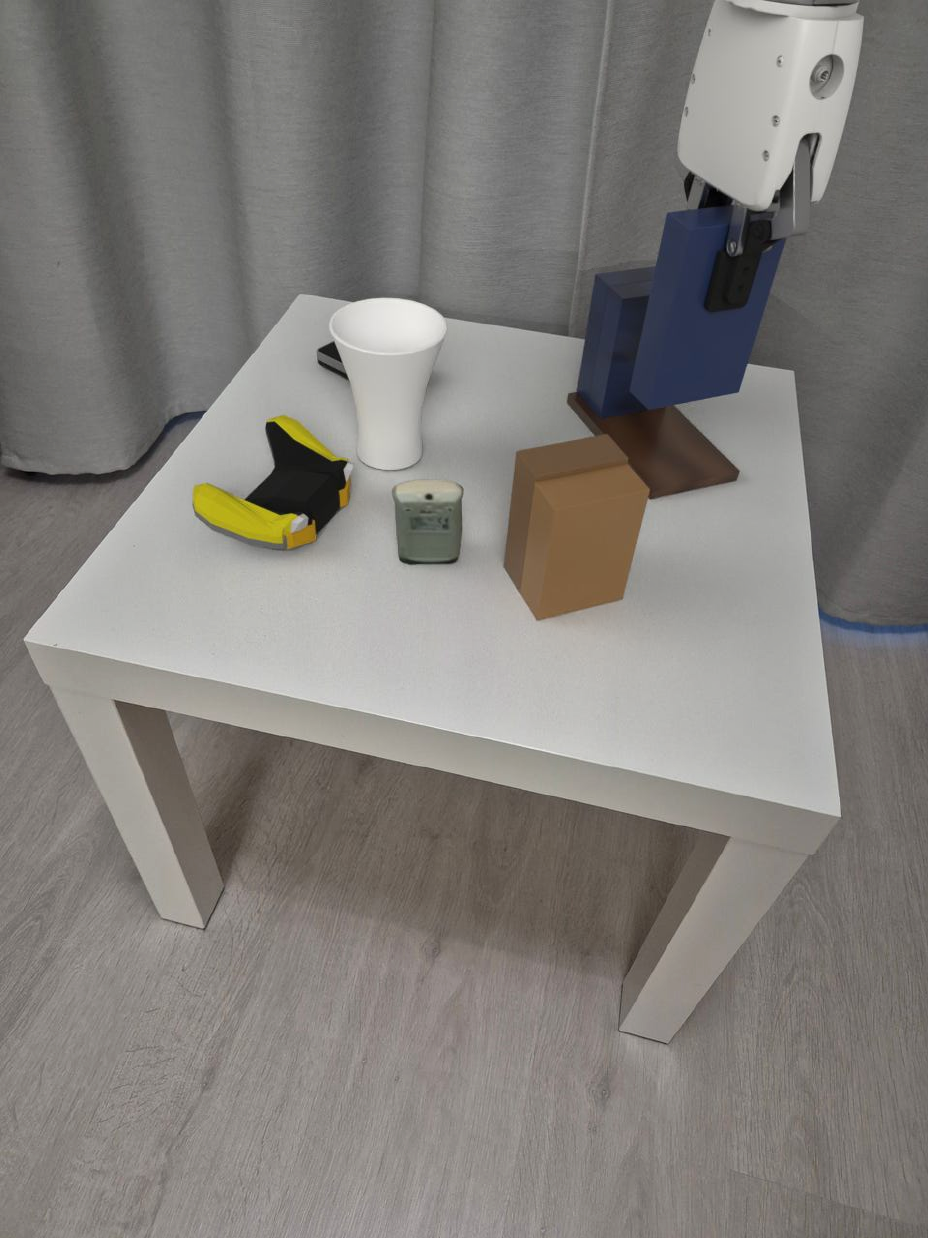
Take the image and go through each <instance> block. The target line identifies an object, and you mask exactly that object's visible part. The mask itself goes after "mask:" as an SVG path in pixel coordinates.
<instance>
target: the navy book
mask: <svg viewBox="0 0 928 1238" xmlns="http://www.w3.org/2000/svg"><path fill="white" fill-rule="evenodd" d="M733 209H734V204H732V205H728V206H719V207H710V208H702V209H693V210H677V211H669V212H666V217H665V221H664V225H663V229H662V235H661V240H660V245H659V248H658V254H657V258H656V262H655V266H656V268H655V272H654V277H653V282H652V287H651V291H650V296H649V301H648V306H647V310H646V315H645V320H644V325H643V330H642V334H641V339H640V344H639V349H638V353H637V358H636V363H635V368H634V372H633V377H632V382H631V387H630V392H631V393H632V394H633V395H634V396H635V397H636V398H637V399H638V400H639V401H640V402H641V403H642V404H643V405H644V406H645V407H646V408H647V409H648V410H652V409H657V408H662V407H667V406H672V405H674V406H677V405H682V404H688V403H693V402H697V401H703V400H707V399H712V398H713V399H714V398H716V397H722V396H727V395H728V396H729V395H733V394H738V393H740V390H741V386H742V385H743V384H742V383H743V380H744V378H745V374H746V371H747V367H748V364H749V361H750V358H751V354H752V351H753V348H754V345H755V342H756V338H757V335H758V332H759V329H760V325H761V322H762V318H763V315H764V313H765V309H766V306H767V303H768V299H769V297H770V293H771V291H772V290H771V289H772V287H773V284H774V280H775V277H776V274H777V271H778V267H779V264H780V261H781V258H782V254H783V251H784V248H785V245H786V242H787V238H782V239H781V240H779V241H778V242H776V243H775V244H773V245H772V248H771V249H770V251H768V252H763V253H762V255H761V258H760V262H759V265H758V269H757V272H756V275H755V279H754V282H753V286H752V289H751V292H750V296H749V299H748V302H747V304H746V305H745V306H744V307H743V308H737V309H731V310H725V311H719V312H713V313H710V312H709V311H707V310H706V309H705V308H704V304H705V300H706V296H707V292H708V288H709V284H710V280H711V276H712V273H713V269H714V265H715V261H716V257H717V253H718V251H721V250H726V243H727V238H728V233H729V228H730V223H731V219H732V214H733ZM759 218H760V214H753V215H752V216H751V220H750V225H749V227H751V226H752V225H753V224H755V223H756V222H758V221H759Z"/></svg>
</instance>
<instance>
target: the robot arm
mask: <svg viewBox="0 0 928 1238" xmlns="http://www.w3.org/2000/svg"><path fill="white" fill-rule="evenodd" d="M859 4H860V0H714V2H713V4H712V7H711V9H710V13H709V17H708V19H707V22H706V25H705V29H704V32H703V35H702V37H701V41H700V44H699V48H698V51H697V55H696V58H695V61H694V65H693V69H692V73H691V77H690V80H689V84H688V85H689V86H688V88H687V92H686V97H685V102H684V106H683V110H682V115H681V121H680V125H679V131H678V138H677V140H678V141H677V151H676V153H675V155H674V160H673V161H674V165H675V167H676V170H677V172H678V173H679V176H680V178H681V181H682V182H683V189H684V194H685V198H686V206H685V210H693V209H702V208H710V207H719V206H728V205H734V209H733V214H732V219H731V223H730V228H729V233H728V238H727V243H726V250H721V251H718V253H717V257H716V261H715V265H714V269H713V273H712V276H711V280H710V284H709V288H708V292H707V296H706V300H705V304H704V308H705V309H706V310H707V311H709V312H710V313H713V312H719V311H725V310H731V309H737V308H743V307H744V306H745V305H746V304H747V302H748V299H749V296H750V292H751V289H752V286H753V282H754V279H755V275H756V272H757V269H758V265H759V262H760V258H761V255H762V253H763V252H768V251H770V249H771V248H772V245H773V244H775V243H776V242H778V241H779V240H781V239H782V238H793V237H799V236H804V235H807V234H808V233H809V231H810V228H811V206H814V205H816V204H818V203H819V202H820V201H821V200H822V198H823V196H824V194H825V191H826V189H827V186H828V183H829V180H830V177H831V174H832V171H833V168H834V165H835V161H836V157H837V154H838V150H839V147H840V143H841V140H842V137H843V133H844V129H845V125H846V121H847V117H848V113H849V109H850V105H851V100H852V96H853V92H854V87H855V83H856V77H857V71H858V68H859V61H860V54H861V47H862V42H863V34H864V33H863V31H864V21H865V16H864V15H861V14H859V13H857V10H858V7H859ZM733 201H734V204H733ZM685 210H684V211H685ZM753 214H760V218H759V221H758V222H756V223H755V224H753V225H752V226H751V227H749V225H750V220H751V216H752V215H753Z"/></svg>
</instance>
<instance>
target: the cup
mask: <svg viewBox="0 0 928 1238" xmlns="http://www.w3.org/2000/svg"><path fill="white" fill-rule="evenodd" d="M328 329H329V331H330V334H331V337H332V339H333V341H334V342H335V344H336V347H337V349H338V352H339V354H340V357H341V359H342V362H343V365H344V368H345V370H346V373H347V376H348V378H349V379H348V381H349V384H350V388H351V392H352V397H353V401H354V406H355V411H356V412H355V413H356V420H357V429H358V430H357V444H356V455H357V457H358V458H359V459H360V461H361V462H362V463H364V464H365V465H366V466H369V467H371V468H373V469H377V470H383V471H398V470H403V469H407V468H410V467H411V466H414V465H415V464H416V463H417V462H419V461H420V460H421V458H422V455H423V442H422V440H423V439H422V431H421V430H422V429H421V428H422V417H423V408H424V403H425V398H426V395H427V388H428V385H429V382H430V379H431V376H432V373H433V372H434V371H433V370H434V368H435V365H436V362H437V360H438V356H439V354H440V352H441V349H442V346H443V344H444V341H445V338H446V336H447V333H448V323H447V321H446V320H445V318H444V316H443V315H442V314H441V313H440V312H439V311H438V310H436V309H435V308H434V307H431V306H429V305H427V304H425V303H422V302H418V301H415V300H412V299H405V298H400V297H374V298H373V297H372V298H365V299H361V300H357V301H354V302H351V303H349V304H346V305H344V306H342V307H341V308H339V309H338V310H336V311H335V312H334V314H333V315H332V316H331V317H330V319H329V323H328Z"/></svg>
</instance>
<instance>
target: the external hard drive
mask: <svg viewBox="0 0 928 1238" xmlns="http://www.w3.org/2000/svg"><path fill="white" fill-rule="evenodd" d="M316 360H317V363H318V365H319V366H321V367H322V368H324V369H327V370H328V371H331V372H332V373H335V374H336V375H339V376H340V377H343V378H344V379H347V380H349V378H348V376H347V373H346V370H345V368H344V365H343V362H342V359H341V357H340V354H339V352H338V349H337V347H336V344H335V342H334V340H332V341H330V342H328V343H326V344H324V345H322V346H319V347H318V348H317V349H316Z"/></svg>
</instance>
